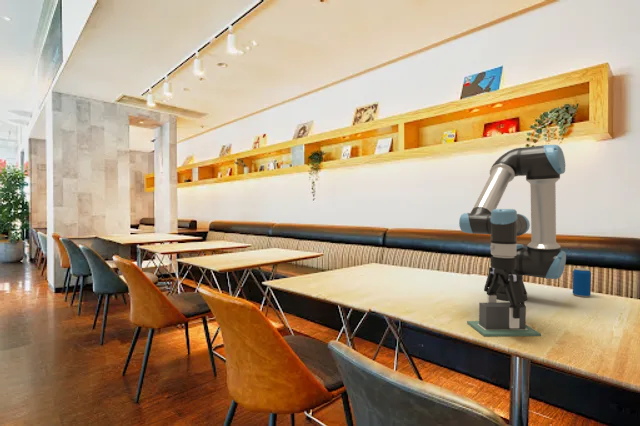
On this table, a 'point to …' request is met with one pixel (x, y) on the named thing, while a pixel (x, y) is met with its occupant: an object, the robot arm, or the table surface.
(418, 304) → the table surface
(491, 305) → the block
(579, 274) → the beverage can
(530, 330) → the green peg board
